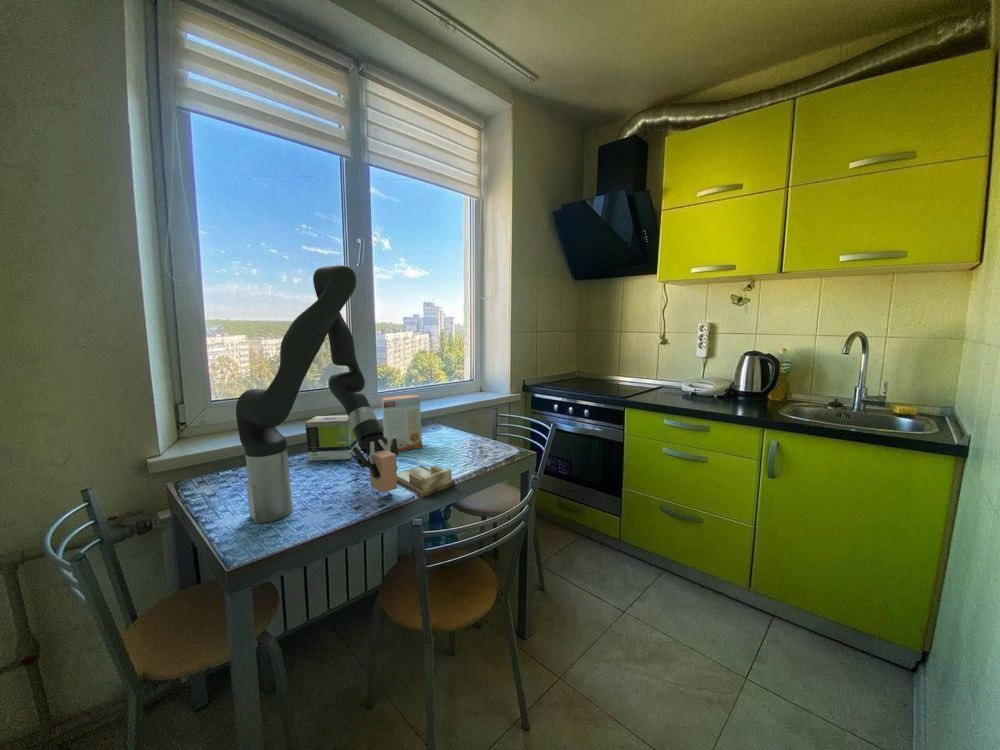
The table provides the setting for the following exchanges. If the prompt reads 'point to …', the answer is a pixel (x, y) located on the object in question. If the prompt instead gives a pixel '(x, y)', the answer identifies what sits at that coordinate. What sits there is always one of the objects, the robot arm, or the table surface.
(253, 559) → the table surface
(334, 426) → the tea box
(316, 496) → the table surface
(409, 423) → the cracker box
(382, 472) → the tall tan block
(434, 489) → the board
